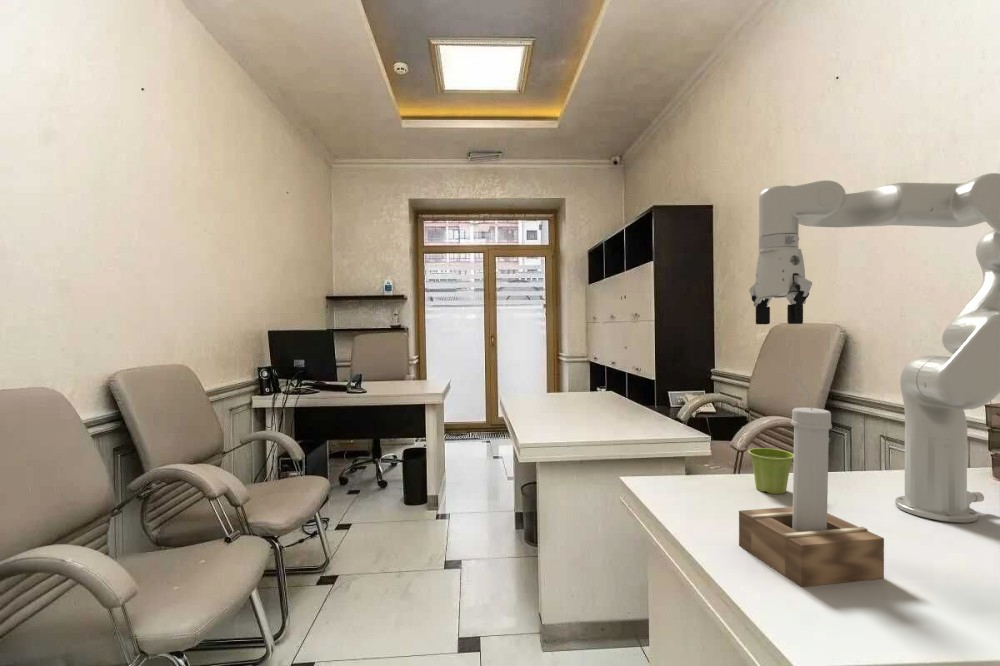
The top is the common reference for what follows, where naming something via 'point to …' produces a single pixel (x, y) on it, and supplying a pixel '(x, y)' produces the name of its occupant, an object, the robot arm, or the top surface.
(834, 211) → the robot arm
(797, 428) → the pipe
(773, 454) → the plant pot
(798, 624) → the top surface
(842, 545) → the socket block
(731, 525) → the top surface
